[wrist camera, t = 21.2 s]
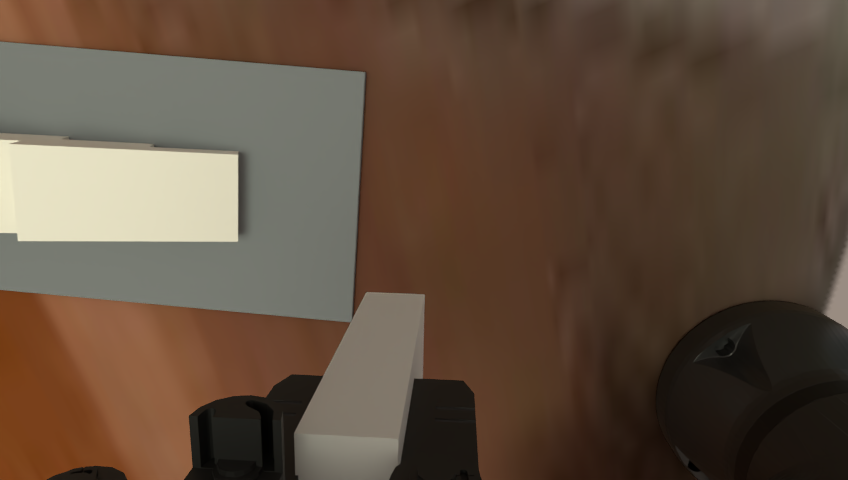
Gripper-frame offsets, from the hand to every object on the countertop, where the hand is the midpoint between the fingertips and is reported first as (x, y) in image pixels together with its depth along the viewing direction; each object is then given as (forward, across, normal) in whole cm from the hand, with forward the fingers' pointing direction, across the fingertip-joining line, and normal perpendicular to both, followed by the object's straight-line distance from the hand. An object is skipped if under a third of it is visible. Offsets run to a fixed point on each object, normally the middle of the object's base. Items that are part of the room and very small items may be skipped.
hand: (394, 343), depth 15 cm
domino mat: (+26, -24, +1) cm, 36 cm away
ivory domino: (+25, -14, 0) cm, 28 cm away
